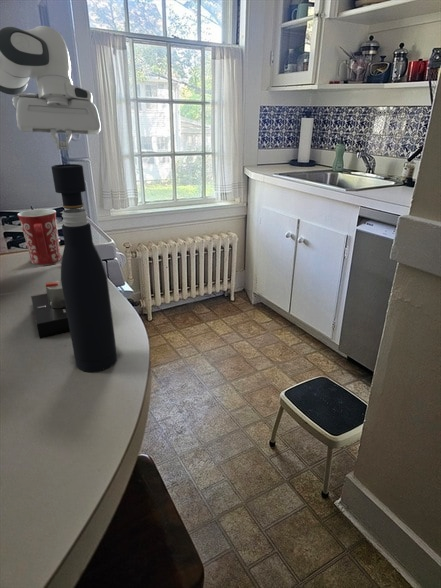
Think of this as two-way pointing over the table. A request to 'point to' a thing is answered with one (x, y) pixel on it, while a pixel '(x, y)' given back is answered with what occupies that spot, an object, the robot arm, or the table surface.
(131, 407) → the table surface
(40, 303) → the panel
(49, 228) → the mug
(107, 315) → the black bottle
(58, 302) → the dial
